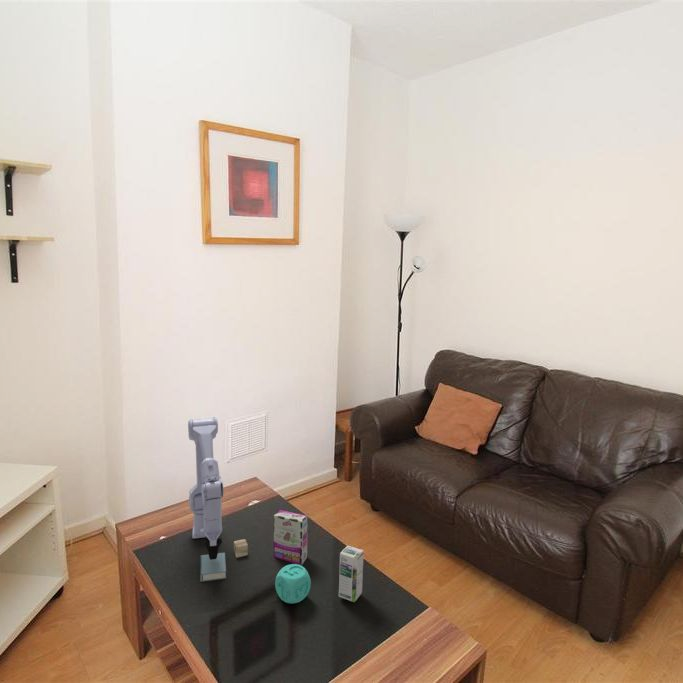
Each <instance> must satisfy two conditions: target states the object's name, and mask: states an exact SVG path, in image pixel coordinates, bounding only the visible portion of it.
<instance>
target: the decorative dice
mask: <svg viewBox="0 0 683 683" xmlns="http://www.w3.org/2000/svg"><path fill="white" fill-rule="evenodd" d="M310 576H311V575H310V574H309V572H308V570H307V569H306V568H305V567H304V566H303V565H298V564H295V563H292V564H287V565H285V566H283V567H282V568H280V570H279V571H278V573H277V575H276V577H275V581H274V587H275V591H276V594H277V595H278V598H280V600H281V601H282V602H284V603H287V604H297V603H300V602H301V601H303V600H304V599H306V597H307V596H308V595H309V593H310V589H311V584H312V580H311V577H310Z"/></svg>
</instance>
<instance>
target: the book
mask: <svg viewBox="0 0 683 683" xmlns="http://www.w3.org/2000/svg"><path fill="white" fill-rule="evenodd" d="M226 565H227V564H226V553H225V552H218V554H217V558H216V559H213V560H210V558H209V554H208V553H207V554H201V555H200V567H199V568H200V570H199V572H200V575H199V576H200V583H202V582H209V581H216V580H224V579H227V566H226Z"/></svg>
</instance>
